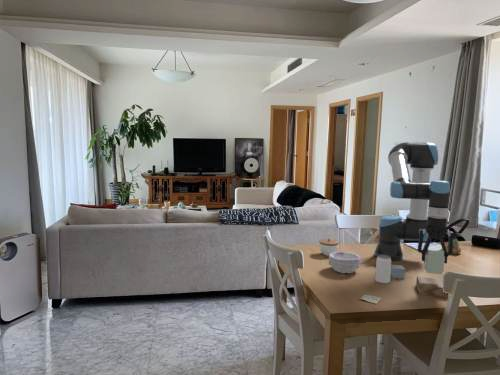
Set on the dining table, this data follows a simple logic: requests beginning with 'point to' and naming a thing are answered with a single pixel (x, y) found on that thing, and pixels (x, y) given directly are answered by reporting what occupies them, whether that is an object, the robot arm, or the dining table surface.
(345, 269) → the paper bowls
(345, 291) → the dining table surface
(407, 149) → the robot arm
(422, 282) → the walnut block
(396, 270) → the slate block
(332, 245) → the lidded jar
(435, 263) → the sage block
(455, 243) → the ornament
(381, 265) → the can
